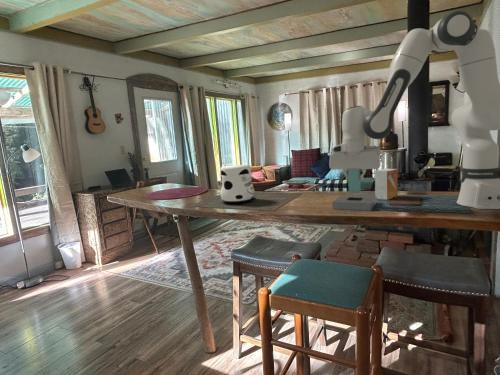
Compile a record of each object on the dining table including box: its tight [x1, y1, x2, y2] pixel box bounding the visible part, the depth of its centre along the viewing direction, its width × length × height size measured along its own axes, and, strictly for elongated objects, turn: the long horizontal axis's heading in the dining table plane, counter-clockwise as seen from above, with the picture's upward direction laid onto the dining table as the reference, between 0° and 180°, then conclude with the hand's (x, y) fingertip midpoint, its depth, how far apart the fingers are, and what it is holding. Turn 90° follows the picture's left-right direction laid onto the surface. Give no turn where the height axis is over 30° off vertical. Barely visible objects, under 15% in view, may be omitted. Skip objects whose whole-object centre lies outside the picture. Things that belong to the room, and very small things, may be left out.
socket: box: [331, 194, 378, 212], centre depth 136 cm, size 15×15×3 cm
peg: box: [347, 169, 362, 194], centre depth 134 cm, size 4×4×10 cm
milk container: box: [219, 164, 255, 204], centre depth 163 cm, size 17×17×18 cm
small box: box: [374, 168, 399, 201], centre depth 146 cm, size 8×6×13 cm
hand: (354, 179), depth 134 cm, fingers closed on peg, 4 cm apart
